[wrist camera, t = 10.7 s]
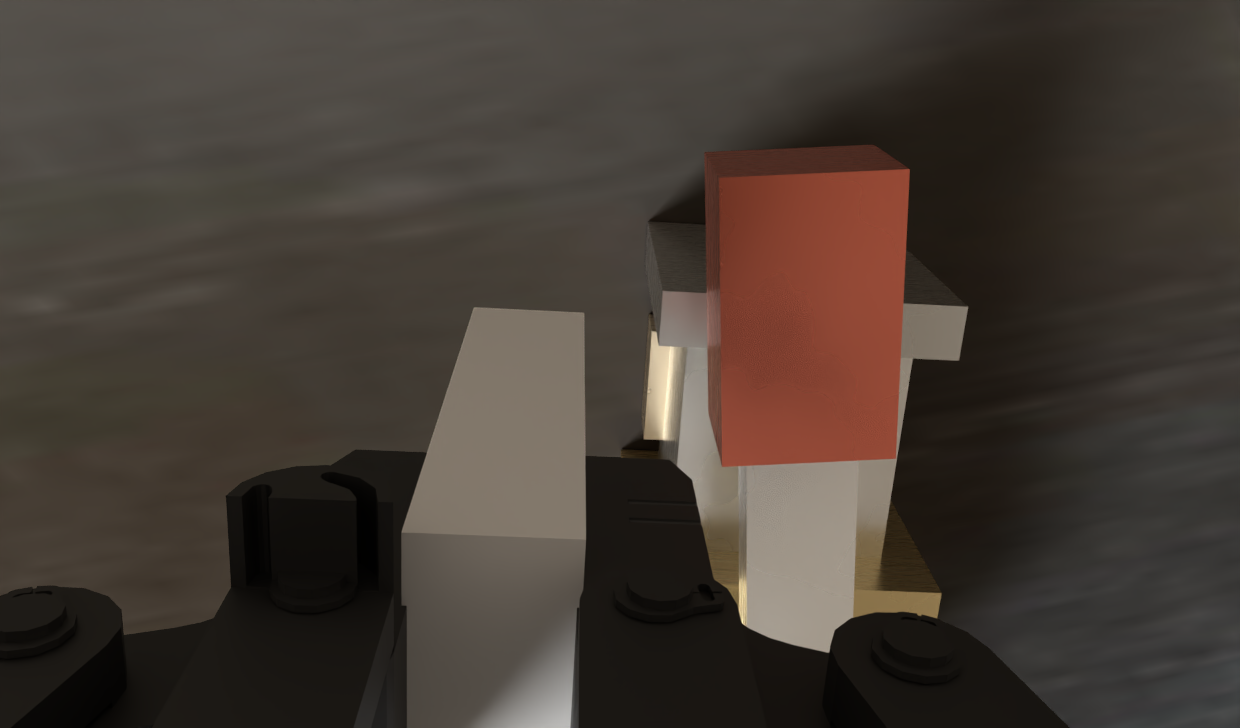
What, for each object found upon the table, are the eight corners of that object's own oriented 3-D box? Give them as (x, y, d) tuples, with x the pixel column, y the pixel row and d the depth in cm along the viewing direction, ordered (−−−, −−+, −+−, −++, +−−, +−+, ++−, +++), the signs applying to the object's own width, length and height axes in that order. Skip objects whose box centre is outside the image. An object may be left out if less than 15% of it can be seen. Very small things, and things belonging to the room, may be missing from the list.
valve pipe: (812, 841, 36) (877, 1102, 28) (595, 834, 36) (596, 1096, 28) (902, 235, 30) (1023, 344, 21) (636, 220, 29) (654, 326, 21)
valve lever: (852, 825, 25) (878, 911, 23) (709, 832, 25) (721, 919, 23) (879, 144, 20) (916, 169, 18) (698, 152, 20) (712, 178, 18)
